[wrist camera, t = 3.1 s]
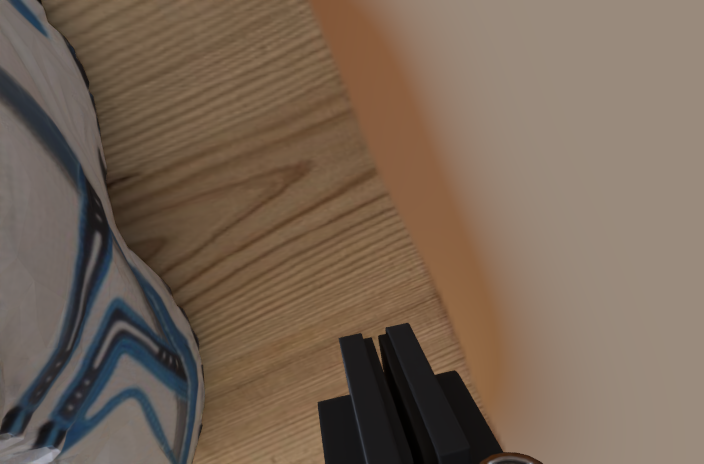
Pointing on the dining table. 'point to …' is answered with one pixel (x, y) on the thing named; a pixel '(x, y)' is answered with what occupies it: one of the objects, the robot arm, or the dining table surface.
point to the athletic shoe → (78, 281)
